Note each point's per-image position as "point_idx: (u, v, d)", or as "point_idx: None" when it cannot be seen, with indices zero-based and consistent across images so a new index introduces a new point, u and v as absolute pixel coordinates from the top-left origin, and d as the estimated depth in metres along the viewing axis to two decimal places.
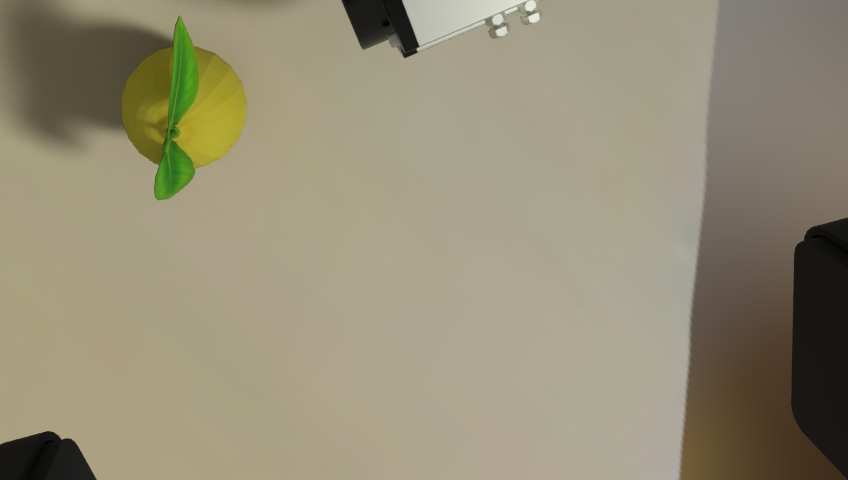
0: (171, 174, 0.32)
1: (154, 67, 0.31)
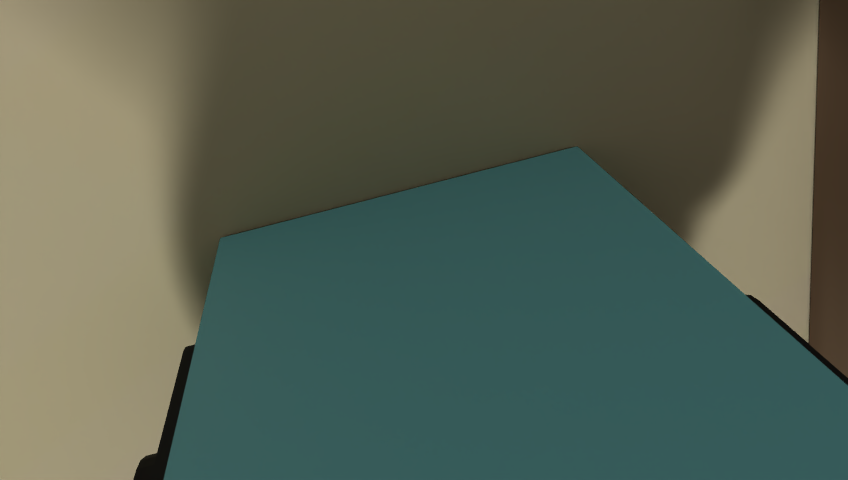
0: None
1: None
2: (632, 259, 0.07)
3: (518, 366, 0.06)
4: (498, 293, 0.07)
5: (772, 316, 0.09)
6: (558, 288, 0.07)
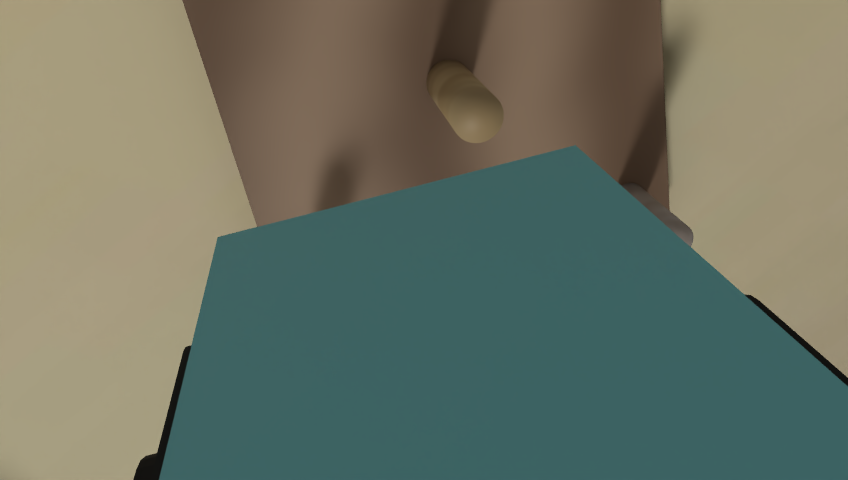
0: None
1: None
2: (629, 259, 0.07)
3: (515, 365, 0.06)
4: (494, 291, 0.07)
5: (772, 316, 0.09)
6: (556, 287, 0.07)
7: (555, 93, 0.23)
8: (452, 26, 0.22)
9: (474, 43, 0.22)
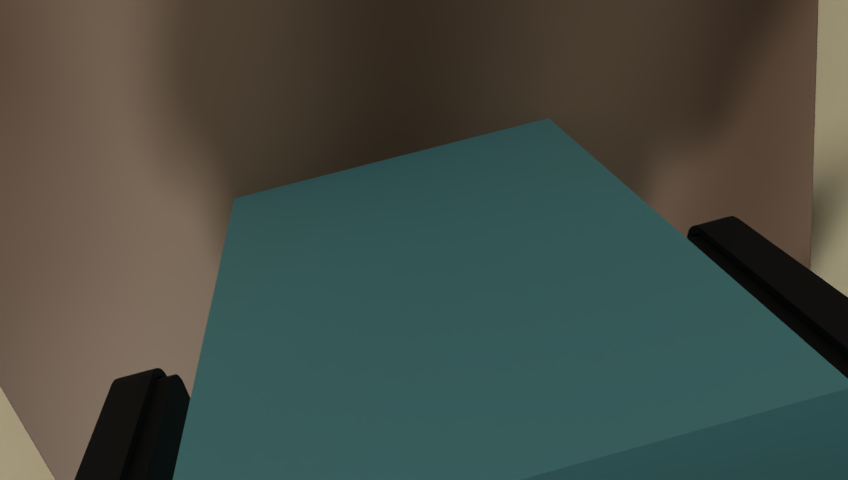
0: None
1: None
2: (585, 204, 0.08)
3: (485, 283, 0.07)
4: (471, 231, 0.08)
5: None
6: (522, 226, 0.08)
7: None
8: None
9: None
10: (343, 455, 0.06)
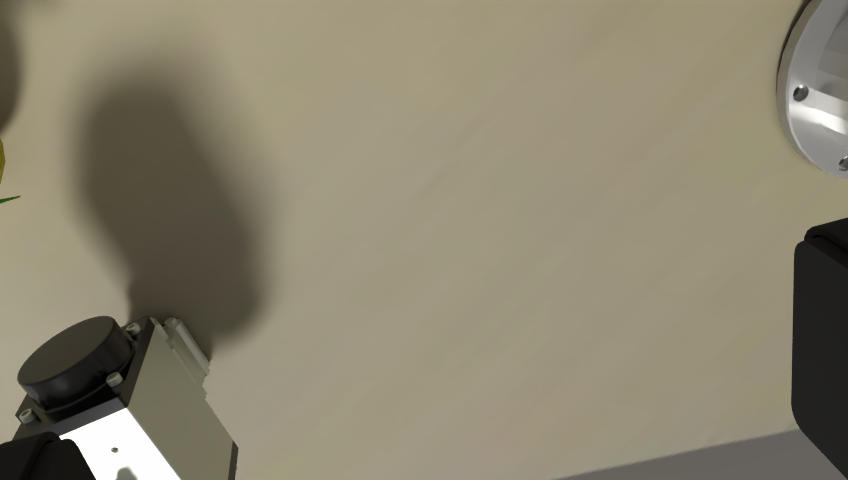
0: None
1: None
2: None
3: None
4: None
5: None
6: None
7: None
8: None
9: None
10: None
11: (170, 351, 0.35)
